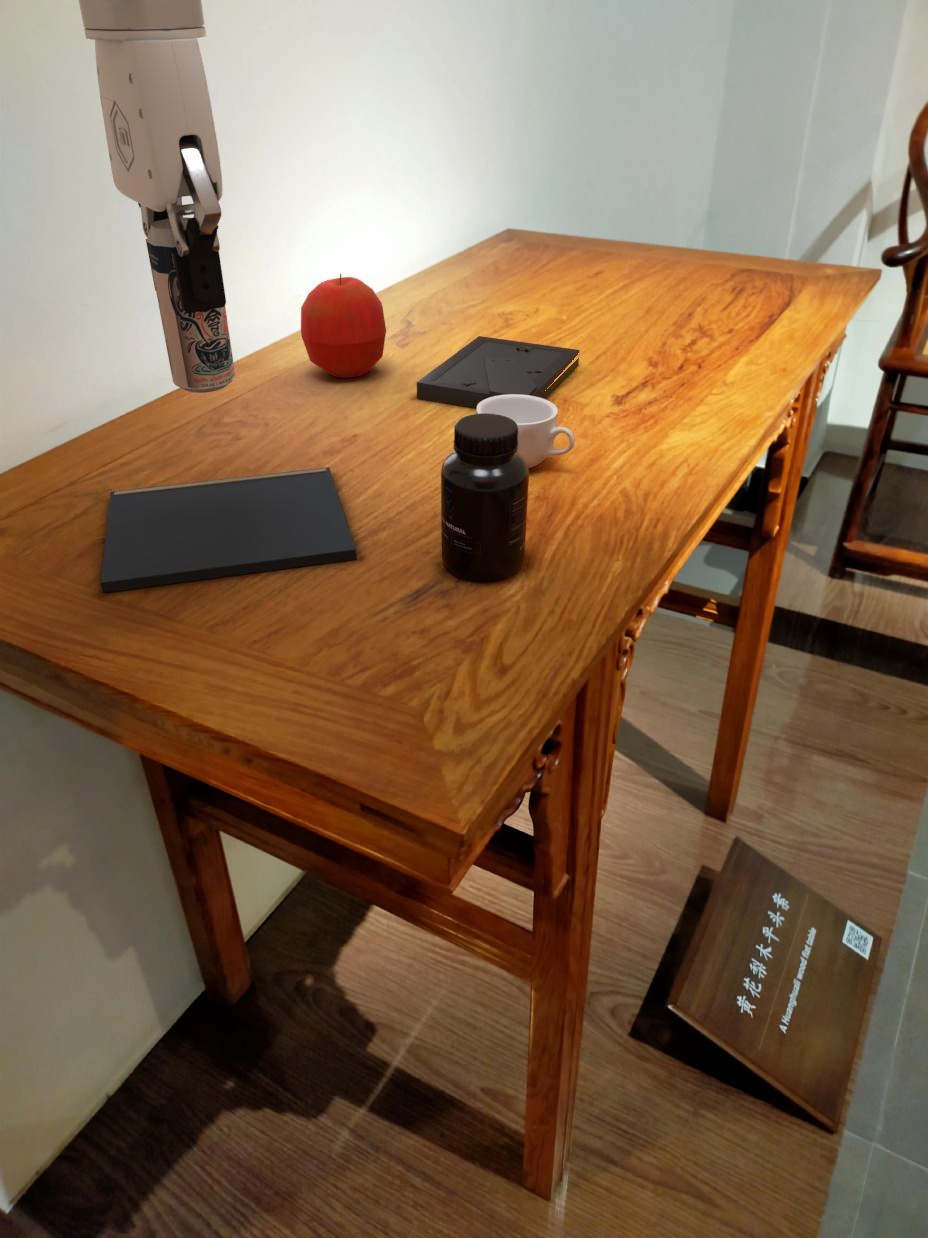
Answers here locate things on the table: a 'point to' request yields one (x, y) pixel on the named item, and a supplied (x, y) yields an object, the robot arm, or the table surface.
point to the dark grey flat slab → (223, 529)
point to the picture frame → (496, 372)
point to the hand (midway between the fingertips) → (190, 297)
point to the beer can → (188, 323)
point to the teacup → (530, 424)
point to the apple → (343, 327)
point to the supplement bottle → (484, 499)
